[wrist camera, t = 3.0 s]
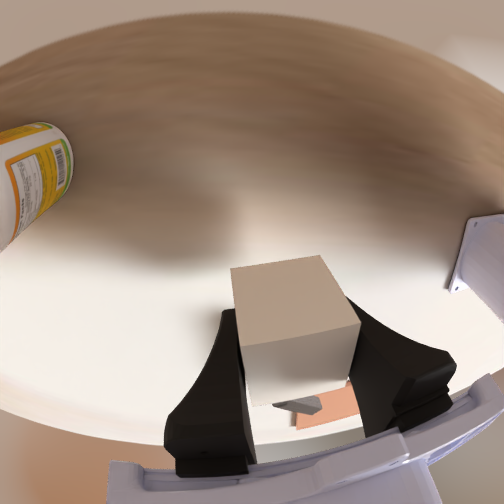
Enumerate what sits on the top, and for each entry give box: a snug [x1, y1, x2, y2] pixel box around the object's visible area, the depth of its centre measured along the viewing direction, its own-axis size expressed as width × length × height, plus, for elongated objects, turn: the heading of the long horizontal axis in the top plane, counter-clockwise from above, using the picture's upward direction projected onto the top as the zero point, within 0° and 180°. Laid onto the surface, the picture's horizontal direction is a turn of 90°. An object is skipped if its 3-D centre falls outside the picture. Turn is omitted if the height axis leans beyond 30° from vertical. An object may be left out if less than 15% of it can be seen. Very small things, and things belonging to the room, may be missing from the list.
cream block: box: [230, 255, 361, 407], centre depth 13 cm, size 4×4×5 cm
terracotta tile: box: [296, 382, 360, 430], centre depth 30 cm, size 9×9×1 cm
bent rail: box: [272, 395, 323, 415], centre depth 22 cm, size 5×10×4 cm, turn 5°
